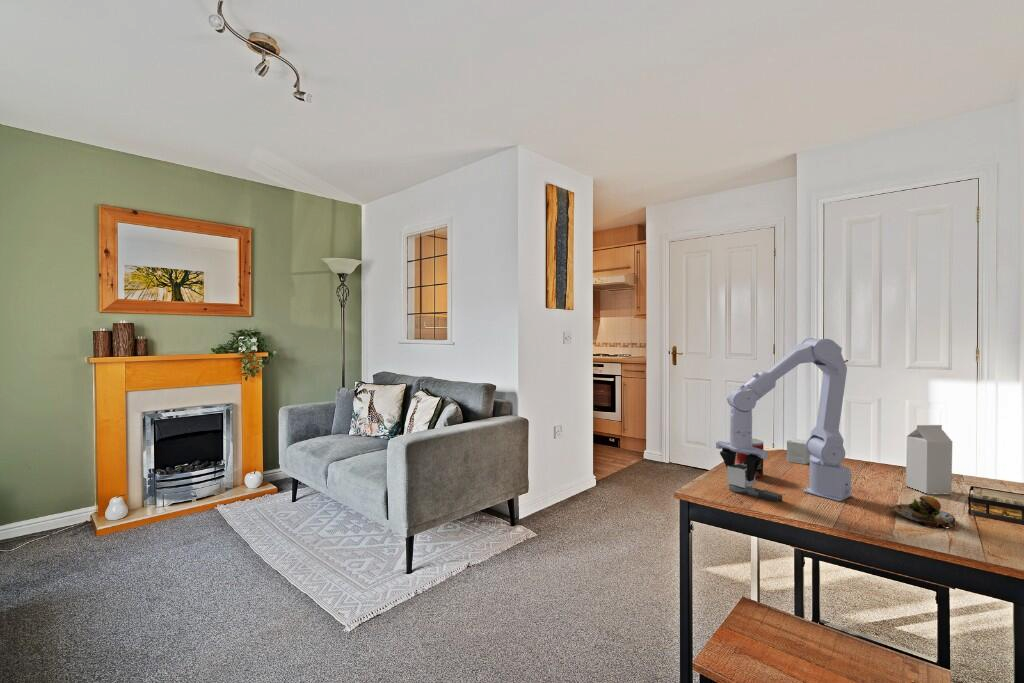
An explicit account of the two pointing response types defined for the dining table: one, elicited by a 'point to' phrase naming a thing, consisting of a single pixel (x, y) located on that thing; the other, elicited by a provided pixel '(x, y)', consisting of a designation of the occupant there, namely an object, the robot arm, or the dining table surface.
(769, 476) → the dining table surface
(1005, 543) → the dining table surface
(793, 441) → the skincare box
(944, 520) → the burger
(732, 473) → the socket
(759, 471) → the canned food
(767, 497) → the ratchet
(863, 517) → the dining table surface
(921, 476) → the milk carton
